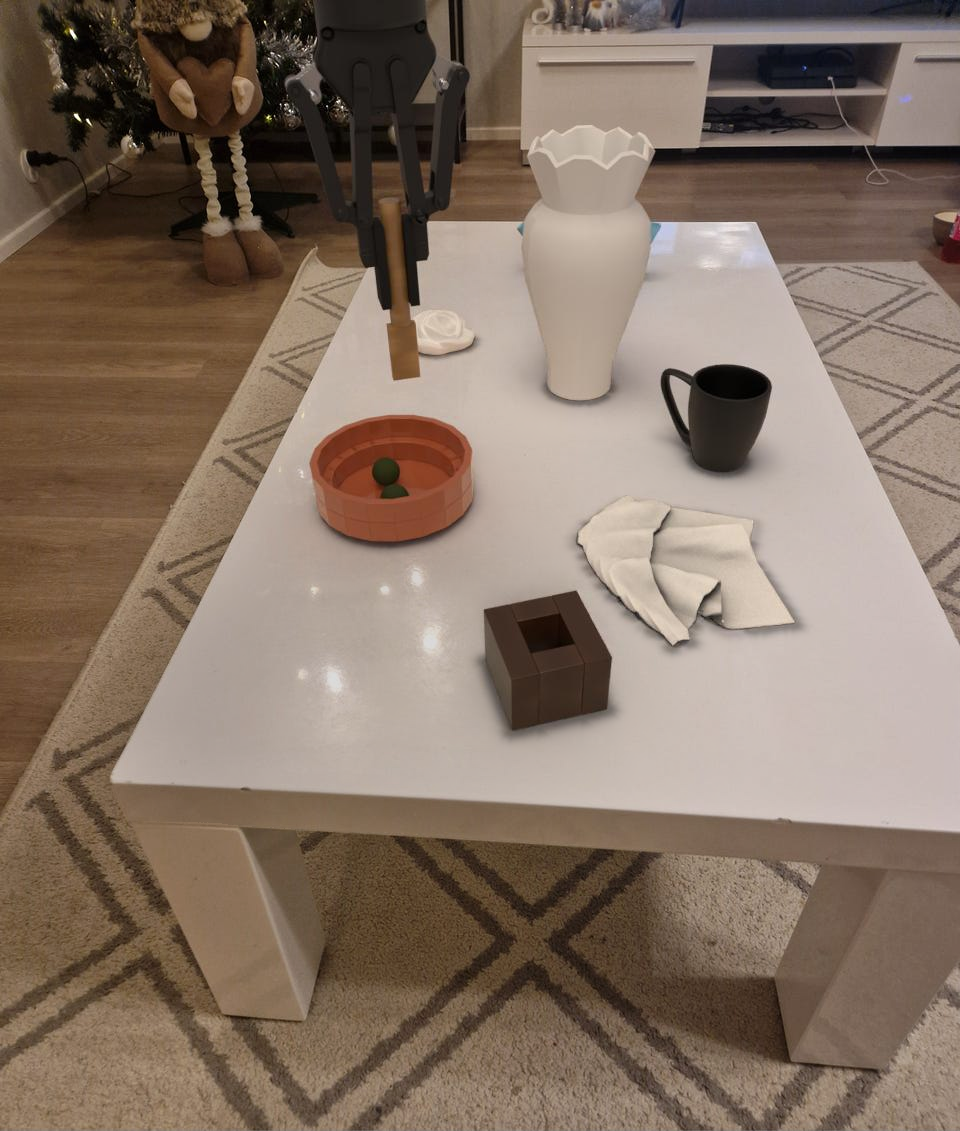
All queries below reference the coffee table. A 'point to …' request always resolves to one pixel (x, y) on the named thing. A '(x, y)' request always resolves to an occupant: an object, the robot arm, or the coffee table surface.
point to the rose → (441, 332)
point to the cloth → (680, 567)
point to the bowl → (427, 471)
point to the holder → (546, 659)
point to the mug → (720, 413)
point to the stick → (398, 295)
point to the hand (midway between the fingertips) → (398, 300)
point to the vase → (585, 251)
